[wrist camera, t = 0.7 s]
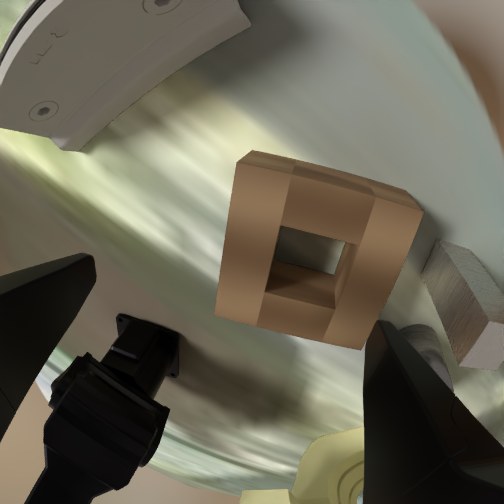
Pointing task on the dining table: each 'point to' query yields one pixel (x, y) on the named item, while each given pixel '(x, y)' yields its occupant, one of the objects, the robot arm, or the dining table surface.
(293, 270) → the socket block
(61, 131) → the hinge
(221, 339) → the dining table surface
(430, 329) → the cylinder
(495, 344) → the square bit
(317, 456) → the slatted curved stool
